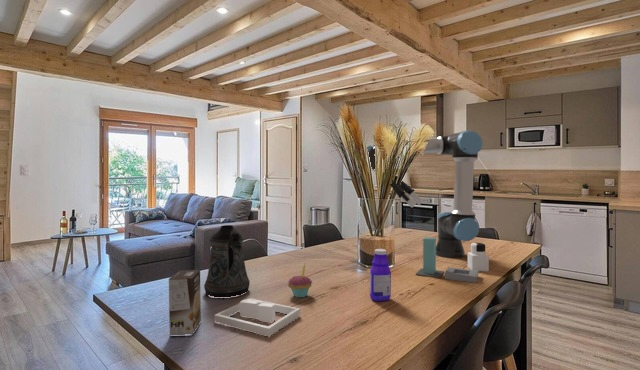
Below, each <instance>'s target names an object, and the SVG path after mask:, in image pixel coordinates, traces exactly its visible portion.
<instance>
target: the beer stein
mask: <svg viewBox="0 0 640 370" xmlns="http://www.w3.org/2000/svg"><path fill="white" fill-rule="evenodd" d="M208 242H209V244H210V247H211V248H210V255H209V264H208V265H209V266H208V271H207V277H206V278H205V279H206V280H205V283H204V285H203V288H204V291H205V295H206V294H207V295H210V296H214V297H231V296H236V295H241V294H243V293H245V292H247V291H248V292H249V290H248V289H249V288H250V284H251V283H250V279H249V276H248V273H247V268H246V264H245V263H246V262H245V259H244V258H245V256H244V248H243V242H244V237H243V235H242V234H241V233H240V232H239V231H237V229H235V228H234V226H233V225H232V224H231V225H228V224H227V225H225V224H224V225H221V226H220V228H219V230H217V232H215V233H214V234H212V235H211V236H210V237H209V241H208ZM248 292H247V293H248Z"/></svg>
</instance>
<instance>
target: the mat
mask: <svg viewBox="0 0 640 370" xmlns="http://www.w3.org/2000/svg"><path fill="white" fill-rule="evenodd" d="M443 274H445V271H444V270H439V269H438V270H437V269H436V272H435V273H434V274H428V273H423V268H420V269H419V270H418V271H417V272H416V273H415V276H419V277H426V278H427V277H428V278H437V279H440V278H441V277H442V276H443Z"/></svg>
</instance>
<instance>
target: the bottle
mask: <svg viewBox="0 0 640 370" xmlns="http://www.w3.org/2000/svg"><path fill="white" fill-rule="evenodd" d="M387 257H388V256H387V250H386V249H384V248H376V249H374V257H373V259H372V261H371V263H372V265H371V267H370V270H369V296H370V299H371V300H373V301H375V302H384V301H385V302H386V301H389V300H390V298H391V296H392V295H391V293H392V292H391V290H392V288H391V287H392V272H391V268H390V266H389V264H390V262H389V260H388V258H387Z"/></svg>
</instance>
